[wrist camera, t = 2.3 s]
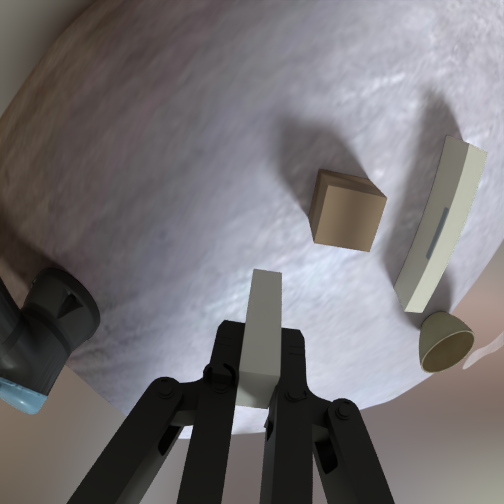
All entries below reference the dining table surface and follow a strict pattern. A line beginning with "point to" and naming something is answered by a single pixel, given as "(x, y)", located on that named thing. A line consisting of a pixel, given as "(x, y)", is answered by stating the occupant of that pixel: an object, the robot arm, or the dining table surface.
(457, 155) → the board
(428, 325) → the flower pot
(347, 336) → the dining table surface
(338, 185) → the block
